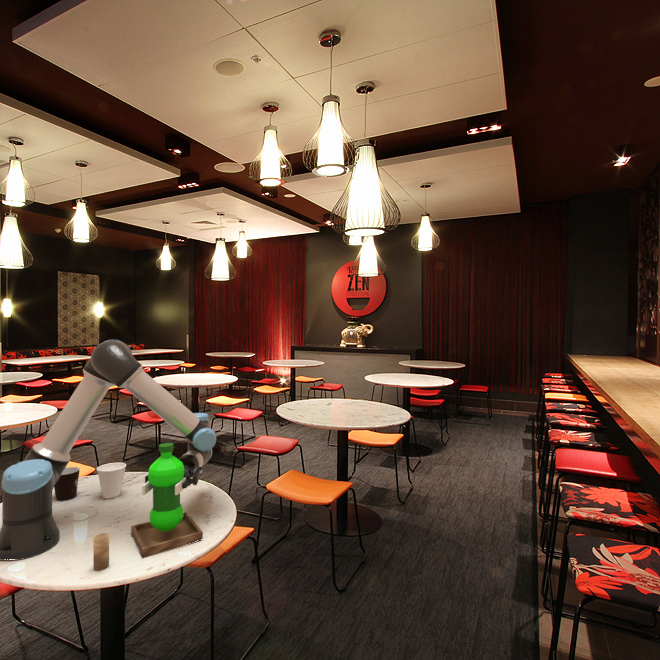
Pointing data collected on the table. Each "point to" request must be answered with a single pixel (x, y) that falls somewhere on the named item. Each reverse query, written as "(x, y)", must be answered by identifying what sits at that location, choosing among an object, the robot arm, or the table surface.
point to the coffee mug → (67, 484)
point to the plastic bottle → (166, 489)
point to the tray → (165, 536)
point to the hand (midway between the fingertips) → (159, 490)
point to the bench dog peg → (101, 551)
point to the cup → (111, 479)
